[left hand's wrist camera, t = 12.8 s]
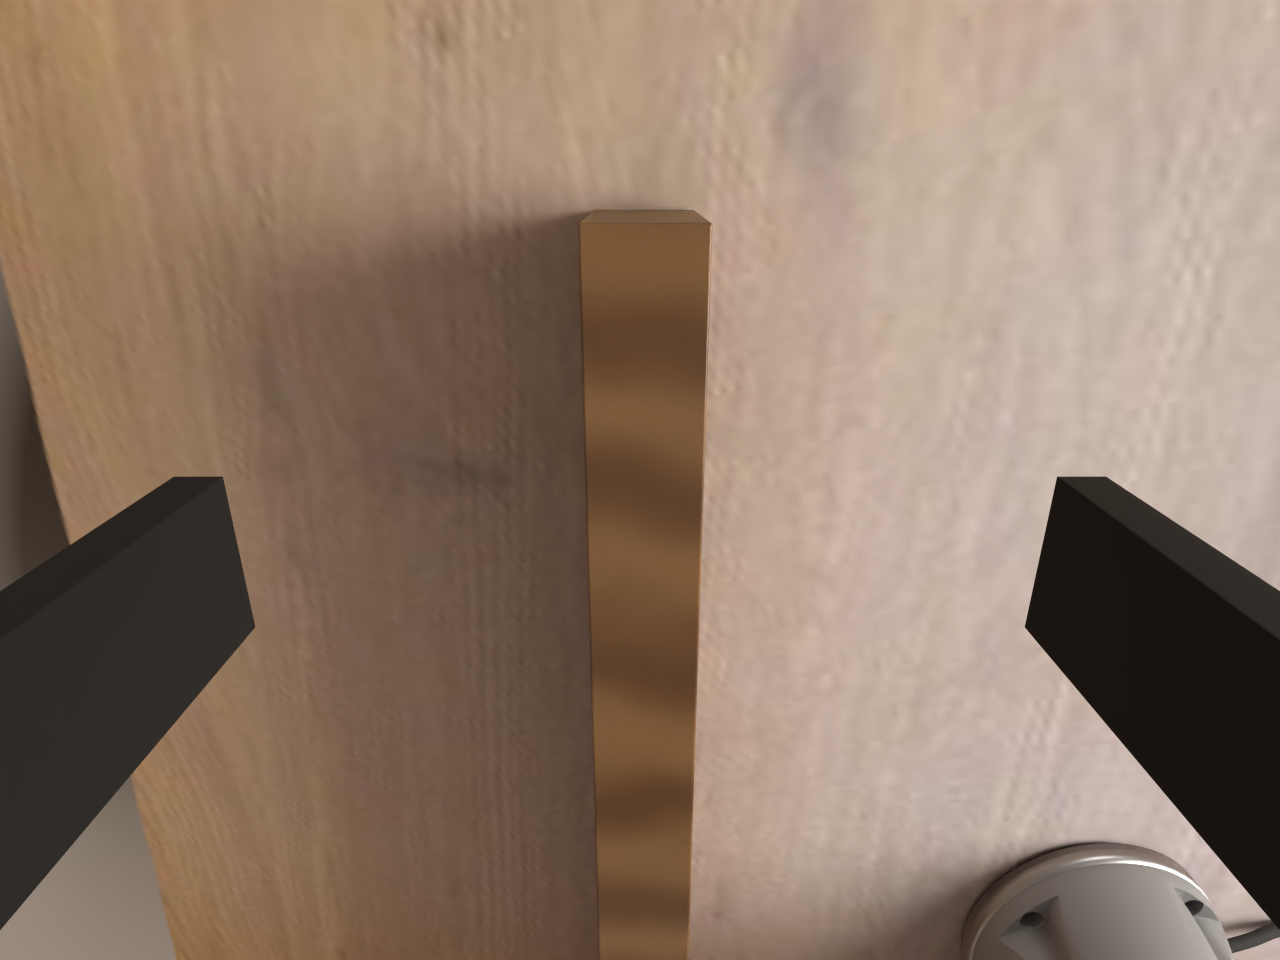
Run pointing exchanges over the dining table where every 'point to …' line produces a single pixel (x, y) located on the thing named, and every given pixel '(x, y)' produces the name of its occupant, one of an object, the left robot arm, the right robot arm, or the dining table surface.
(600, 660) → the post
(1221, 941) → the right robot arm
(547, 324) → the dining table surface
